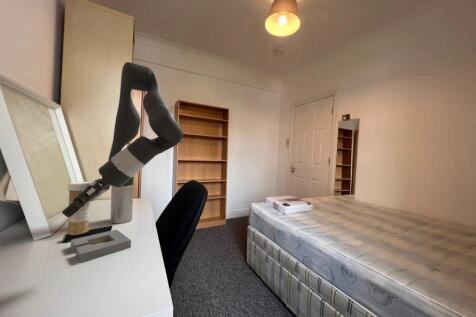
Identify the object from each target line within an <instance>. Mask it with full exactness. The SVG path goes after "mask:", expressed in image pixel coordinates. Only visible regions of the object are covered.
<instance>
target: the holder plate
mask: <svg viewBox="0 0 476 317" xmlns="http://www.w3.org/2000/svg"><path fill="white" fill-rule="evenodd" d="M131 245H132V240H131V239H130V238H129V237H128V236H126V235H125V234H124V233H123V232H120V231H119V229H111V231H108V232H103V233H99V234H95V235H90V236H86V237H82V238H77V239H73V240H71V241H70V248H71V250H72V251H73V252H72V253H74V254H75V256H76V258H77V260H78V261H79V263H84V262H87V261H90V260H93V259H97V258H100V257H103V256H107V255H110V254H113V253H116V252H119V251H123V250H126V249H130V248H131V247H132V246H131Z"/></svg>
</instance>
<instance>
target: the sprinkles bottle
mask: <svg viewBox="0 0 476 317" xmlns="http://www.w3.org/2000/svg"><path fill="white" fill-rule="evenodd" d="M90 185H91V182H90V181H73V182H70V183H68V196H69V197H68V206H69V205H70V204H72V203H73V199H75V198H76V197H77V196H78V195H80V194H81V192H82V191H83V190H85V189H86V188H87V187H88V186H90ZM80 199H81V200H82V201H83V202H84V201H85V200H84V199H83V198H80ZM89 219H90V201H89V202H88V203H87V204H85V206H84V207H81V208H80V209H79V210H78V211H77V212H75V213H74V214H73V215H72V216H71V217H67V220H68V224H67V228H68V229H67V233H66V234H70V235H77V234H82V233H85V232H87V231H88V230H89V229H90V228H89Z"/></svg>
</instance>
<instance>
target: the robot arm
mask: <svg viewBox="0 0 476 317" xmlns="http://www.w3.org/2000/svg"><path fill="white" fill-rule="evenodd" d="M119 90H120V91H119V100H118V105H117V112H116V116H115V122H114V130H113V137H112V138H113V139H112V143H111V147H110V152H109V155H108V159H107V161H106V162H105V163H103V165H101V166H100V167H99V168H98V174H99V176H101V178H97V179H95V180H93V181H91V182H90V186H88V187H87V188H86V189H85V190H83V191H82V192H81V194H80V195H78V196H77V197H76V198H75V199H73V203H72V204H70V205H69V204H68V206H67V207H66V208H64V209H63V210H62V211H61V213H62V214H63V215H64V216H65V217H66V218H68V217H71V216H72V215H73V214H74V213H75V212H77V211H78V210H79V209H80V208H81V207H84V206H85V204H87V203H88V202H89V203H91V202H93V201H94V200H96V199H98V198H99V197H101V196H102V195H103V194H105V193H106V192H108V191H109V190H110V189H111V190H110V219H109V220H110V223H112V224H125V223H128V222H131V221H132V220H133V208H134V207H133V205H134V179H135V178H134V177H135V176H136V175H137V174H138V173H139V172H140V171H141V170H142V169H143V168H144V167H145V166H146V165H147V164H148V163H149V162H151V160H152V159H154V158H155V157H156V156H158V155H160V154H163V153H165V152H166V151H168V150H169V149H172V148H174V147H175V146H177V145H178V144H179V143H180V142H181V141H182V140H183V137H184V130H183V129H182V127H181V126H180V124H179V123H178V122H177V120H176V119H175V118H174V116H173V115H172V112H171V110H170V107H169V106H168V104H167V102H166V100H165V99H164V97H163V95H162V92H161V89H160V84H159V82H158V79H157V76H156V73H155V72H154V70H153V69H152V68H150V67H147V66H144V65H141V64H138V63H134V62H130V61H126V62H125V63H124V64H123V66H122V69H121V76H120V89H119ZM132 90H134V91H140V92H146V94H145V95H144V97H143V99H142V105H143V108H144V111H145V114H146V115H147V116H148V118H147V119H148V124H149V127H150V128H151V130H152V132H153V133H154V134H155V135H156V136H157V137H154V138H148V137H146V136H144V135H141V136H138V134H139V130H140V126H141V121H142V119H141V116H140V114H139V112H138V110H137V108H136V106H135V104H134V102H133V100H132ZM137 136H138V138H136V137H137ZM135 138H136V139H135ZM134 139H135V140H134ZM133 140H134V141H133ZM131 141H132V142H131ZM129 143H130V144H129ZM126 145H127V146H126ZM123 148H124V149H123ZM80 198H83V199H84V200H85V201H84V202H83V201H82V200H81V199H80Z"/></svg>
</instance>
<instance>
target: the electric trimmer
mask: <svg viewBox="0 0 476 317" xmlns="http://www.w3.org/2000/svg"><path fill="white" fill-rule="evenodd" d="M112 230H113V225H107V226H101V227H96V228H95V227H94V228H89V230H88V231H87V232H85V233H82V234H77V235H70V234H68V233H65V234H64V236H63V238H62V239H61V241H62V244H64V243H68V242H71V240H73V239H77V238H82V237H86V236H90V235H95V234H99V233H103V232H108V231H112Z"/></svg>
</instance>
